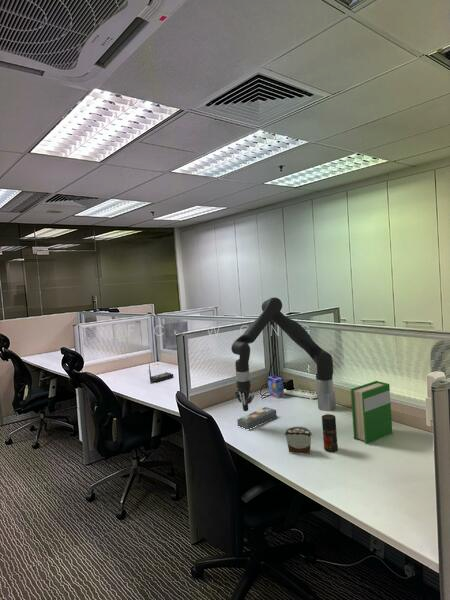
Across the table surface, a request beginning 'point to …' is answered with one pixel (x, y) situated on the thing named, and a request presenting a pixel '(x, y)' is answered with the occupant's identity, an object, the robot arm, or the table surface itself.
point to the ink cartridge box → (275, 386)
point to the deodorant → (329, 433)
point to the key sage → (247, 418)
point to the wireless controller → (160, 377)
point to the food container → (298, 439)
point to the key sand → (260, 412)
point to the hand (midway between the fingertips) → (245, 410)
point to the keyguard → (257, 419)
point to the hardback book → (371, 411)
